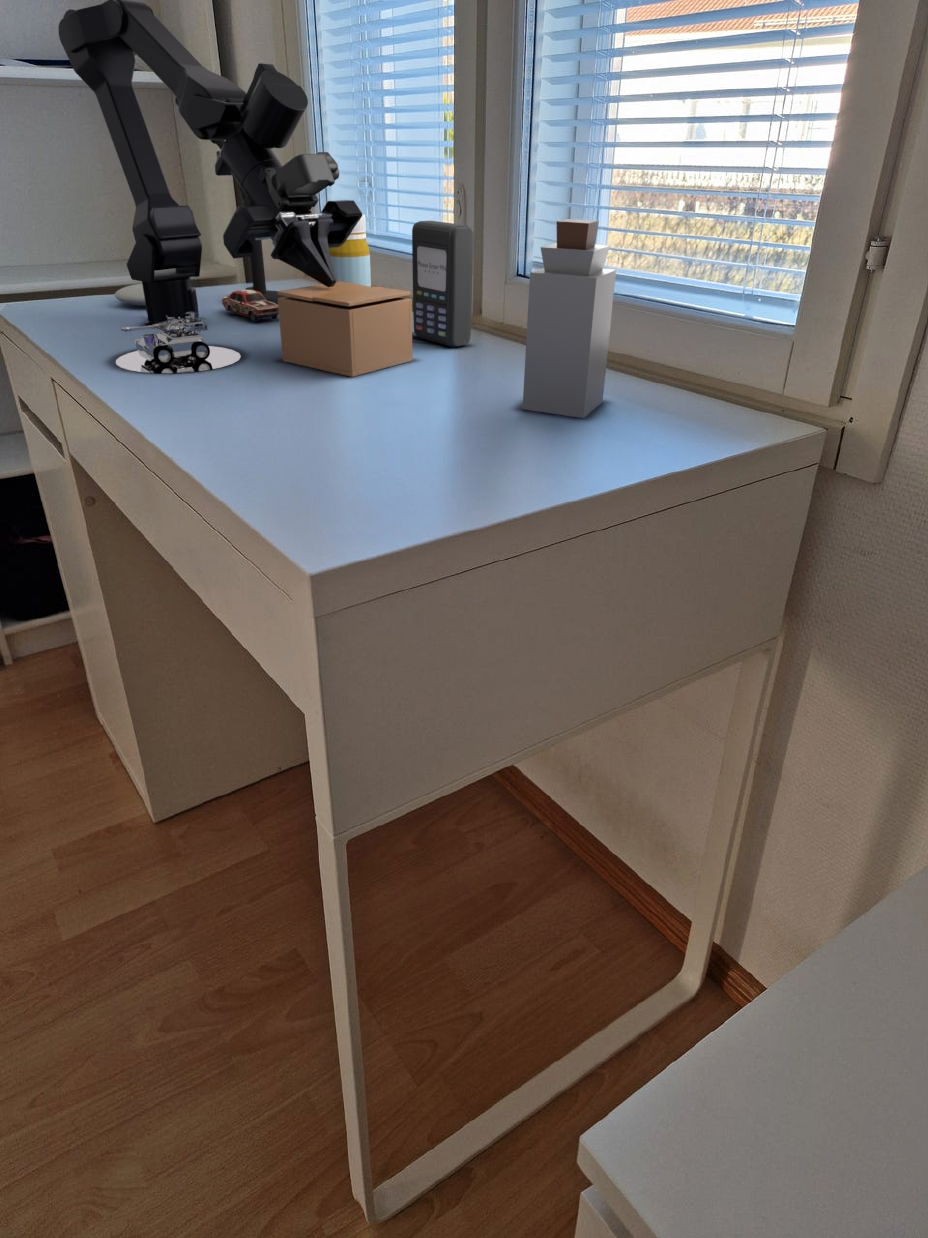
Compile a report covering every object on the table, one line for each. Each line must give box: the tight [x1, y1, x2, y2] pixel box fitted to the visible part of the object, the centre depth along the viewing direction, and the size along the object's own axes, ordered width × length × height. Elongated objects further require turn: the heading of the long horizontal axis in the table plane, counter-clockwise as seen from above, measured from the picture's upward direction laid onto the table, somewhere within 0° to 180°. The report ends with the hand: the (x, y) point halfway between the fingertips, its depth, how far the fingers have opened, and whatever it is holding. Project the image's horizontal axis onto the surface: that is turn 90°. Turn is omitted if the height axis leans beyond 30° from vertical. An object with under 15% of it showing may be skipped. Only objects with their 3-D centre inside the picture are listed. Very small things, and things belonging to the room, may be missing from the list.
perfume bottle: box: [522, 218, 617, 419], centre depth 85 cm, size 7×7×18 cm
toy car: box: [115, 311, 241, 374], centre depth 104 cm, size 15×15×5 cm
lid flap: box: [277, 281, 369, 301], centre depth 103 cm, size 6×11×1 cm, turn 143°
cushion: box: [114, 283, 146, 307], centre depth 136 cm, size 12×12×3 cm
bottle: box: [329, 212, 372, 287], centre depth 122 cm, size 7×7×15 cm
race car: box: [221, 289, 279, 323], centre depth 128 cm, size 5×12×5 cm, turn 36°
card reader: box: [411, 220, 475, 348], centre depth 113 cm, size 9×4×15 cm, turn 41°
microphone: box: [174, 97, 287, 305], centre depth 138 cm, size 12×23×30 cm, turn 28°
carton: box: [278, 286, 413, 378], centre depth 103 cm, size 12×11×8 cm
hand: (332, 284), depth 102 cm, fingers closed
